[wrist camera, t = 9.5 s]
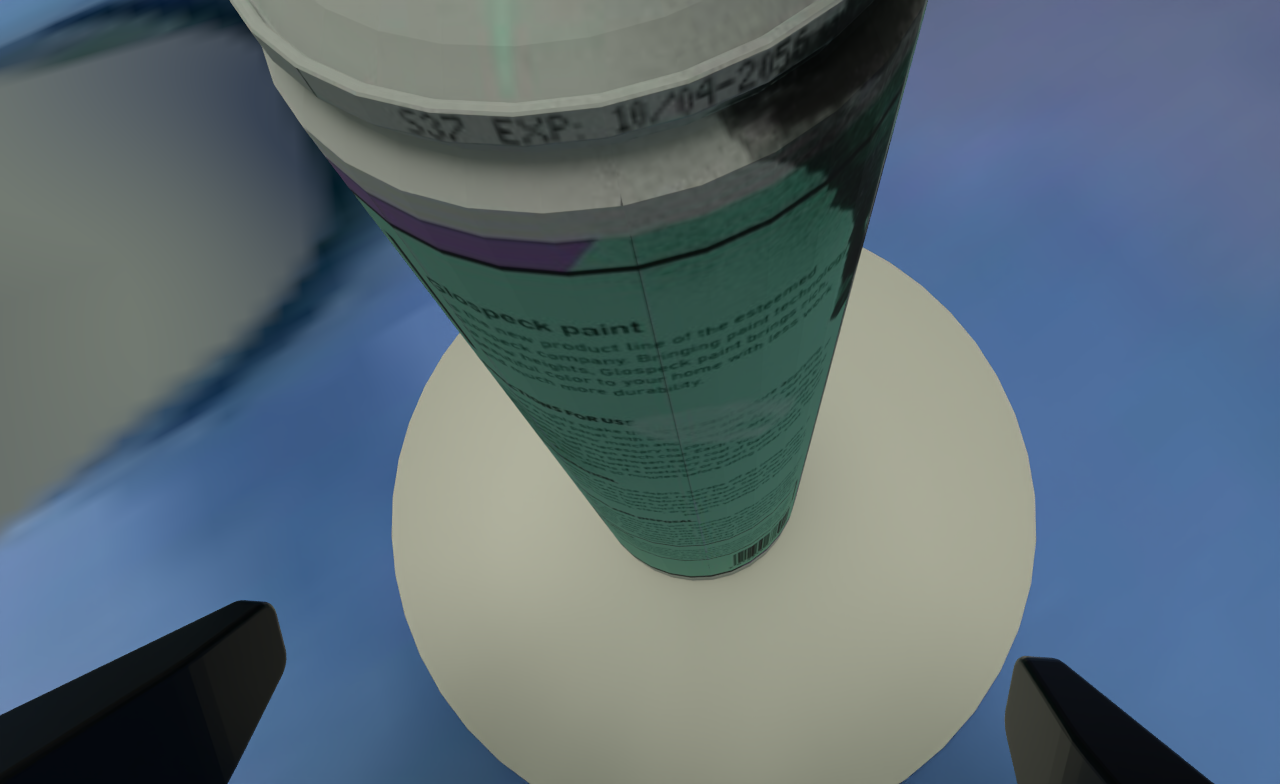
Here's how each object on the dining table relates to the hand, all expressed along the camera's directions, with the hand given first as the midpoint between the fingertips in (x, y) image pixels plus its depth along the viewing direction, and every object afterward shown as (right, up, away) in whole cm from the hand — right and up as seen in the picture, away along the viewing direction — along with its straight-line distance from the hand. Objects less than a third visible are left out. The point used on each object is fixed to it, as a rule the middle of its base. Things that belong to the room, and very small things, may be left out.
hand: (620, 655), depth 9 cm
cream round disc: (+2, +1, +13) cm, 13 cm away
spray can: (+2, +1, +13) cm, 13 cm away
